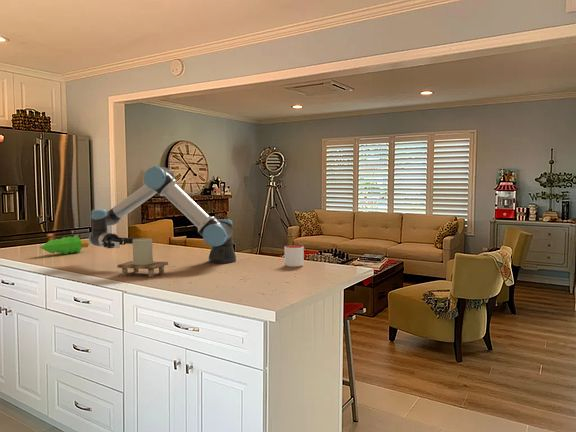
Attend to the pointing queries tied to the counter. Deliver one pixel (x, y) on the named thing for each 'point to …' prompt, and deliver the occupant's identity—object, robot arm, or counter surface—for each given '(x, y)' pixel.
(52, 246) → the decorative tree
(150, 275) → the wooden pallet
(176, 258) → the counter surface
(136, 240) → the grey-green block
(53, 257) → the counter surface
